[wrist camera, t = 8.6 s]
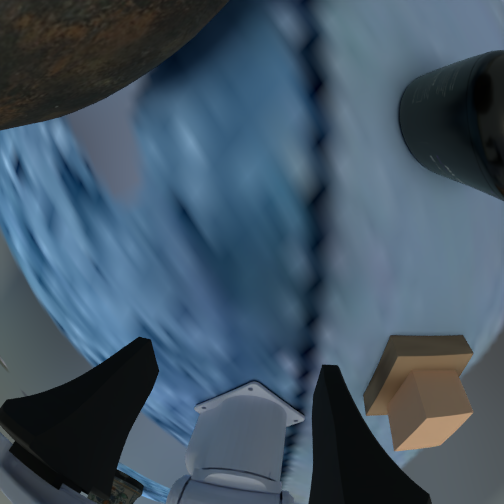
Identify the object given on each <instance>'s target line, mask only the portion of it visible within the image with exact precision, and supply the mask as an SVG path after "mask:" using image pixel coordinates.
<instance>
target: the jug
mask: <svg viewBox="0 0 504 504" xmlns="http://www.w3.org/2000/svg"><path fill="white" fill-rule="evenodd" d="M228 2H229V0H0V130H5V129H9V128H14V127H19V126H23V125H28V124H33V123H38V122H43V121H47V120H51V119H55V118H59V117H62V116H64V115H67V114H70V113H73V112H75V111H78V110H80V109H82V108H85V107H87V106H89V105H91V104H94V103H96V102H98V101H100V100H102V99H104V98H107V97H108V96H110V95H111V94H113V93H115V92H117V91H119V90H121V89H122V88H124V87H126V86H128V85H129V84H131V83H132V82H134V81H135V80H137V79H138V78H140V77H142V76H143V75H145V74H146V73H148V72H149V71H151V70H152V69H154V68H155V67H157V66H158V65H160V64H161V63H162V62H163V61H165V60H166V59H168V58H169V57H170V56H172V55H173V54H174V53H175V52H177V51H178V50H179V49H180V48H182V47H183V46H184V45H185V44H186V43H187V42H189V41H190V40H191V39H192V38H194V37H195V36H196V35H197V34H198V33H199V31H200V30H201V29H202V28H203V27H204V26H205V25H206V24H207V23H208V22H209V21H210V20H211V19H212V18H213V17H214V16H215V15H216V14H217V13H218V12H219V11H220V10H221V9H222V8H223V7H224V6H225V5H226V4H227V3H228Z"/></svg>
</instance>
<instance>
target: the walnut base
mask: <svg viewBox="0 0 504 504" xmlns="http://www.w3.org/2000/svg"><path fill="white" fill-rule="evenodd" d="M472 355H473V351H472V350H471V348H470V346H469V345H468V343H467V341H466V339H465V338H464V336H463V335H454V336H398V335H391V336H390V338H389V341H388V343H387V346H386V348H385V350H384V353H383V355H382V357H381V359H380V362H379V364H378V366H377V368H376V370H375V373H374V375H373V377H372V379H371V381H370V383H369V385H368V387H367V389H366V391H365V393H364V395H363V397H364V404H365V412H366V416H370V415H388V412H387V407H386V406H387V405H388V403H389V402H390V401H391V399H392V398H393V397H394V395H395V394H396V392H397V391H398V390H399V388H400V387H401V385H402V384H403V382H404V381H405V379H406V378H407V376H408V375H409V373H410V372H411V370H456V372H457V374H458V377H459V376H460V375H461V373H462V371H463V370H464V368H465V367H466V365H467V363H468V362H469V360H470V358H471V357H472Z"/></svg>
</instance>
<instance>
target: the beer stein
mask: <svg viewBox="0 0 504 504" xmlns="http://www.w3.org/2000/svg"><path fill="white" fill-rule="evenodd" d="M142 492H143V485H142V484H141V483H140V482H138V481H137V480H135V479H133V478H132V477H130V476H128V475H127V474H125V473H123V472H121V471H119V470H117V469H116V473H115V477H114V481H113V486H112V490H111V496H110V498H109V499H106V500H103V499H101V498H99V497H97V496H95V495H93V494H91V493H89V494H88V497H87V498H88V499H90V500H92V501H94V502H95V503H97V504H133V503H134V502H135V500H136V499H137V498H138V497H140V496H141V495H142Z"/></svg>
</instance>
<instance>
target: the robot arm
mask: <svg viewBox="0 0 504 504" xmlns="http://www.w3.org/2000/svg"><path fill="white" fill-rule="evenodd" d="M158 373H159V369H158V365H157V361H156V358H155V354H154V350H153V346H152V342H151V339H146V338H142V337H138V338H136V339H135V340H134V341H132V342H131V343H129V344H128V345H127V346H125V347H124V348H122V349H121V350H120V351H118V352H117V353H115V354H114V355H112V356H111V357H110V358H108V359H107V360H105V361H104V362H102V363H101V364H99V365H98V366H96V367H94V368H93V369H91V370H90V371H88V372H86V373H85V374H83V375H81V376H79V377H78V378H76V379H74V380H72V381H70V382H68V383H65V384H63V385H61V386H58V387H55V388H53V389H50V390H48V391H45V392H42V393H38V394H35V395H31V396H26V397H21V398H15V399H8V400H6V401H5V403H4V404H3V405H2V407H1V408H0V425H1V426H2V428H3V429H4V430H5V431H6V432H7V433H8V434H9V435H10V436H11V437H12V438H13V439H14V440H15V442H14V443H13V444H12V443H11V442H10V441H9V440H8V439H6V437H5V436H4V435H2V434H1V433H0V490H1V491H2V492H3V493H4V495H5V496H6V497H7V498H8V499H9V500H10V501H11V502H12V503H13V504H97V503H95V502H94V501H92V500H90V499H88V498H86V497H85V496H83V495H81V494H80V493H81V491H82V492H84V493H86V494H87V495H88V494H89V493H91V494H93V495H95V496H97V497H99V498H101V499H103V500H106V499H109V498H110V496H111V490H112V486H113V481H114V477H115V473H116V469H117V466H118V462H119V459H120V456H121V453H122V450H123V447H124V445H125V442H126V439H127V437H128V434H129V432H130V430H131V428H132V426H133V424H134V422H135V420H136V418H137V416H138V414H139V413H140V411H141V409H142V407H143V406H144V404H145V402H146V400H147V398H148V396H149V395H150V393H151V391H152V389H153V386H154V384H155V381H156V378H157V376H158ZM194 409H195V411H197V412H198V413H200V415H199V418H198V420H197V423H196V426H195V429H194V431H193V434H192V437H191V439H190V442H189V445H188V448H187V450H186V455H185V462H186V467H187V470H188V472H189V473H190V475H184V476H183V477H181V478H179V479H178V480H177V481H176V482H175V483H174V484H173V486H172V488H171V490H170V492H169V494H168V497H167V500H166V504H294V498H293V497H292V496H291V495H290V494H289V492H288V491H283V490H282V491H281V487H282V482H279V481H280V474H281V467H282V459H283V451H284V442H285V433H286V427H288V426H291V425H293V424H296V423H299V422H302V421H304V420H305V416H304V415H302V414H301V413H299V412H298V411H296V410H295V409H294V408H292V407H291V406H289V405H288V404H287V403H285V402H284V401H282V400H281V399H280V398H278V397H277V396H276V395H274V394H273V393H272V392H270V391H269V390H268V389H266V388H265V387H264V386H262V385H261V384H260V383H258V382H255V381H253V382H250V383H248V384H246V385H244V386H241V387H239V388H237V389H235V390H232V391H230V392H228V393H225V394H223V395H221V396H218V397H216V398H213V399H211V400H208V401H206V402H203V403H201V404H198V405H196V406H195V408H194ZM312 436H313V473H312V482H311V490H310V498H309V504H432V502H431V499H430V495H429V494H428V493H427V492H426V491H424V490H423V489H422V488H421V487H419V486H418V485H417V484H416V483H415V482H414V481H412V480H411V479H410V478H409V477H408V476H407V475H406V474H405V473H404V472H403V471H402V470H401V469H400V468H399V467H398V465H397V464H396V463H395V462H394V461H393V460H392V459H391V458H390V457H389V455H388V454H387V453H386V452H385V450H384V449H383V448H382V447H381V445H380V444H379V442H378V441H377V440H376V438H375V437H374V435H373V434H372V432H371V431H370V429H369V428H368V426H367V424H366V423H365V421H364V419H363V418H362V416H361V414H360V412H359V410H358V408H357V406H356V404H355V402H354V401H353V399H352V397H351V394H350V392H349V390H348V388H347V386H346V383H345V381H344V379H343V376H342V374H341V371H340V368H339V367H338V366H337V365H322V368H321V371H320V375H319V378H318V381H317V385H316V388H315V391H314V394H313V406H312Z"/></svg>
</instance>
